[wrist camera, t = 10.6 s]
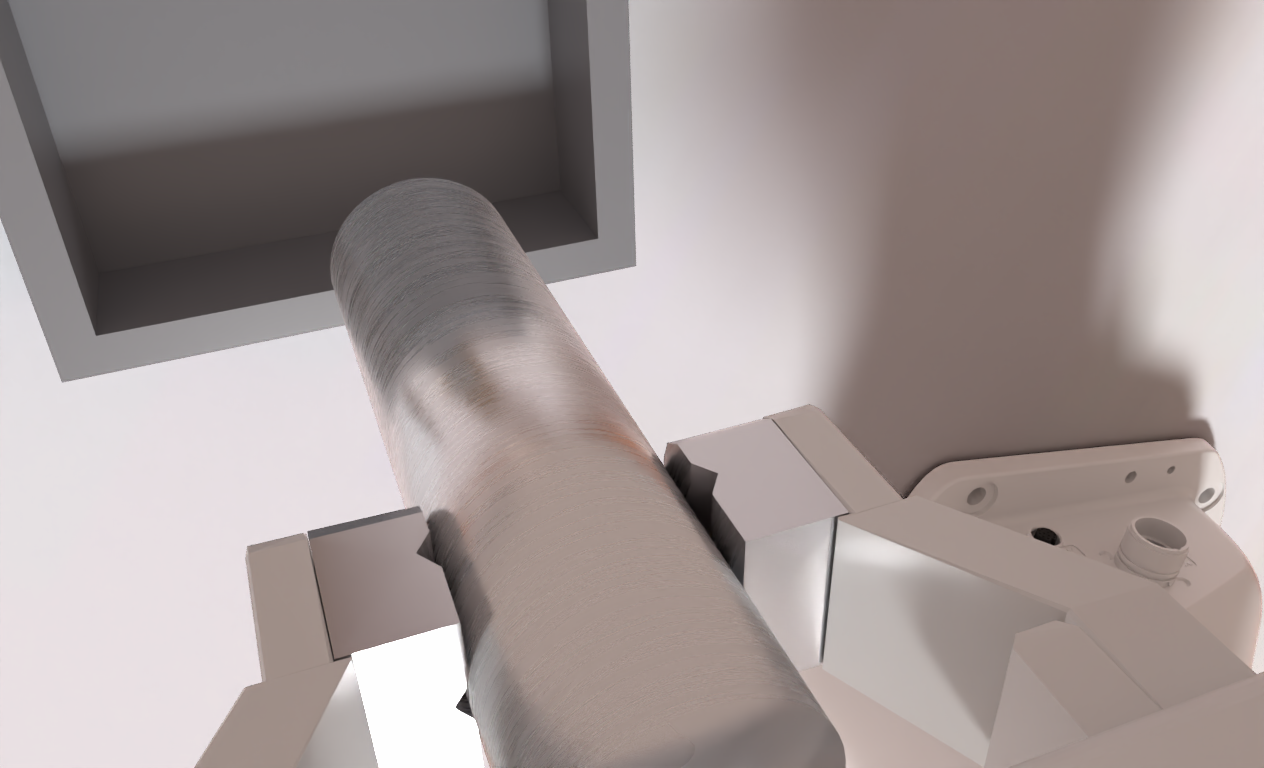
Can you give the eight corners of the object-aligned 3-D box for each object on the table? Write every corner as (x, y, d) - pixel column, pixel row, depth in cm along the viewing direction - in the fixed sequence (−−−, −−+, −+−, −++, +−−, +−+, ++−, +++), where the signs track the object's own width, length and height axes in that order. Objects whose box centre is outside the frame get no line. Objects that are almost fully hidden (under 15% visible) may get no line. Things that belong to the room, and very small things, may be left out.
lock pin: (503, 163, 15) (859, 657, 8) (518, 322, 16) (832, 868, 9) (313, 195, 14) (515, 771, 7) (347, 358, 15) (541, 979, 8)
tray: (555, -377, 25) (616, -378, 22) (587, 205, 33) (636, 266, 30) (-163, -351, 21) (-213, -349, 18) (69, 301, 29) (62, 382, 26)
